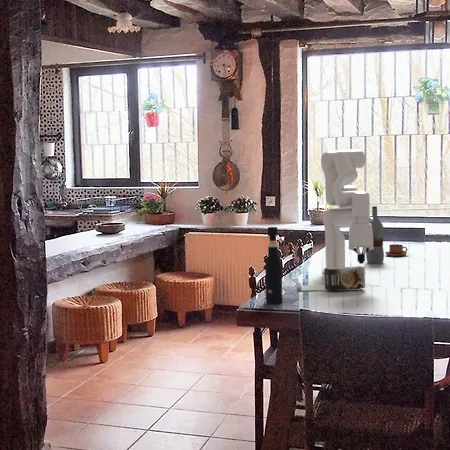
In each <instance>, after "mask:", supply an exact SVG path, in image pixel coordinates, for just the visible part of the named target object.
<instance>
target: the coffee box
mask: <svg viewBox="0 0 450 450" xmlns="http://www.w3.org/2000/svg"><path fill="white" fill-rule="evenodd" d="M323 270H324V273H323V275H324V285H325V289H327V290H343V289H357V288H359V289H365V288H366V273H365V267H364V266H361V265H359V266H358V265H357V266H345V267H340V268H326V267H325V268H323Z"/></svg>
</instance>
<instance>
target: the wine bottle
mask: <svg viewBox="0 0 450 450" xmlns="http://www.w3.org/2000/svg"><path fill="white" fill-rule="evenodd" d="M267 236H268V237H269V242H268V247H267V252H268V254H267V257H266V260H265V265H264V266H265V267H264V268H265V272H264V273H265V274H264V275H265V303H266V304H269V305H278V304H279V305H280V304H282V303H283V278H282V268H283V267H282V262H281V258H280V255H279V248H278V247H279V246H277V245H278V243H277V237H278V227H277V226H269V227H267Z"/></svg>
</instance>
